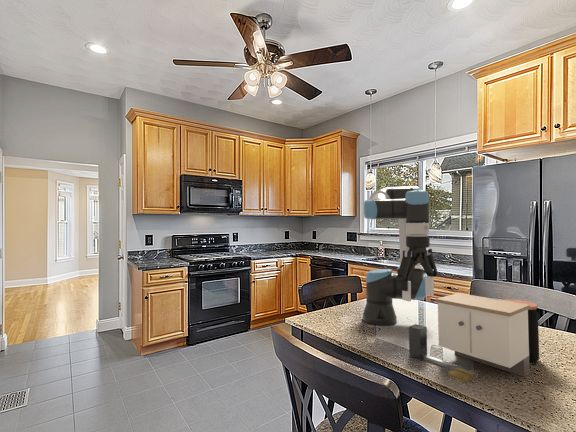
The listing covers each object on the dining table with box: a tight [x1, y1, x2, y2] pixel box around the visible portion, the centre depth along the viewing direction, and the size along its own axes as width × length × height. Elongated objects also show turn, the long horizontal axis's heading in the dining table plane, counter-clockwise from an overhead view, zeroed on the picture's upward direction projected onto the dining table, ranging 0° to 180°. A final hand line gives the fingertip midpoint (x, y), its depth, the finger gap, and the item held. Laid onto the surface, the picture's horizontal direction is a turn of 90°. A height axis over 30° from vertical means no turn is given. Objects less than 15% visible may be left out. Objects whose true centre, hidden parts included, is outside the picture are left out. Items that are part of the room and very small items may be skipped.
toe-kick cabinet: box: [435, 292, 530, 377], centre depth 98 cm, size 21×16×20 cm
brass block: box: [447, 368, 474, 384], centre depth 92 cm, size 5×5×2 cm
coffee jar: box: [503, 298, 540, 365], centre depth 105 cm, size 11×11×18 cm
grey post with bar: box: [408, 323, 479, 379], centre depth 100 cm, size 20×4×10 cm, turn 38°
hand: (418, 297), depth 109 cm, fingers open, 13 cm apart
